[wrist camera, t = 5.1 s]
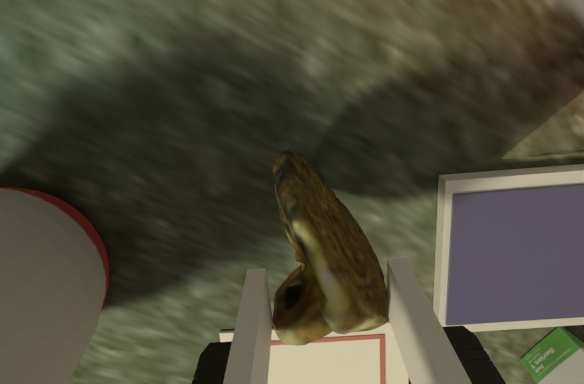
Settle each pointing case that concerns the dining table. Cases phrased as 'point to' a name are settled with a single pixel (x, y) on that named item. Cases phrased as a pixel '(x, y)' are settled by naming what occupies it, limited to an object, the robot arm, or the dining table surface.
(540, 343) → the ink box
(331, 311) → the brown mottled tapered part
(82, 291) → the citrus juicer
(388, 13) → the dining table surface
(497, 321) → the ink pad
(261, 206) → the dining table surface
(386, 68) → the dining table surface
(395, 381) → the paper
